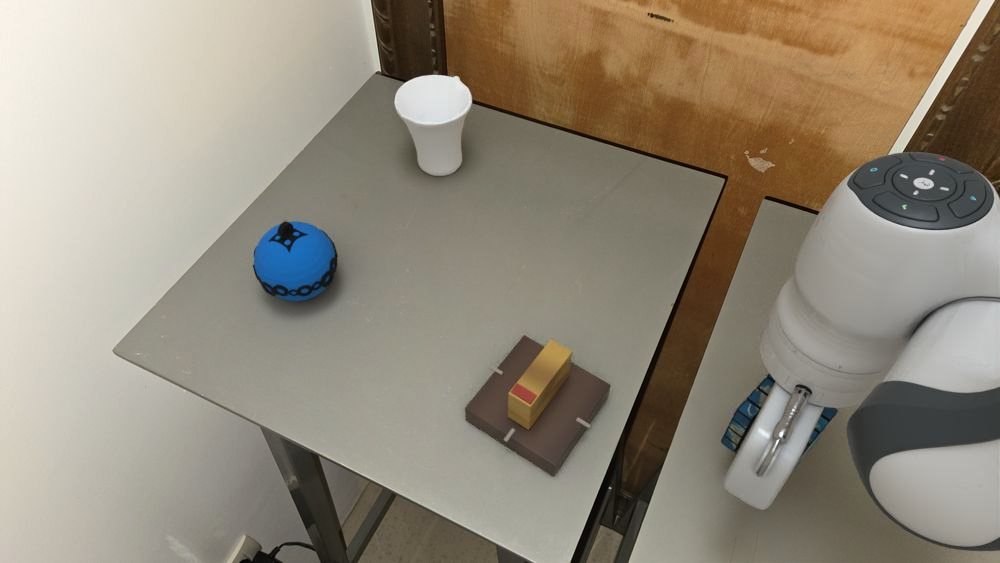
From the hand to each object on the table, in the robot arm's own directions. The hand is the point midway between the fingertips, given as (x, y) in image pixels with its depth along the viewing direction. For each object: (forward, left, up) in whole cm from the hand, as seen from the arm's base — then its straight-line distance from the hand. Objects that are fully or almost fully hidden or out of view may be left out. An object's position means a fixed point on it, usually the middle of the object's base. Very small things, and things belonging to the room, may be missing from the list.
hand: (773, 432), depth 65 cm
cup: (+48, -15, -7) cm, 51 cm away
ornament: (+49, +9, -7) cm, 50 cm away
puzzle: (0, 0, -2) cm, 2 cm away
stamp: (+20, +7, -4) cm, 21 cm away
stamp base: (+20, +7, -6) cm, 22 cm away
